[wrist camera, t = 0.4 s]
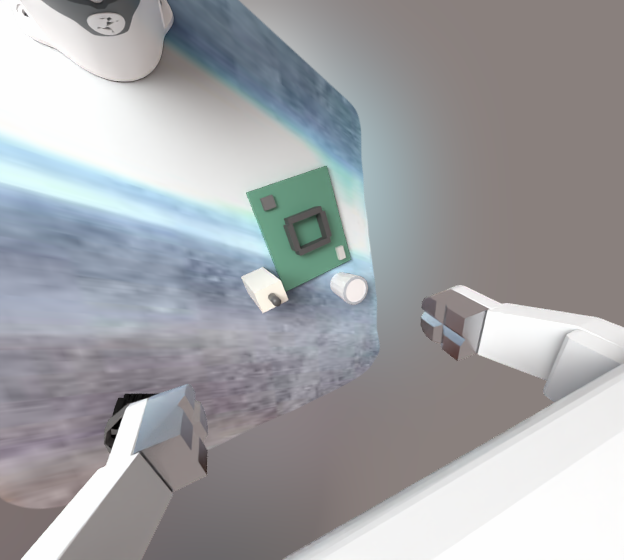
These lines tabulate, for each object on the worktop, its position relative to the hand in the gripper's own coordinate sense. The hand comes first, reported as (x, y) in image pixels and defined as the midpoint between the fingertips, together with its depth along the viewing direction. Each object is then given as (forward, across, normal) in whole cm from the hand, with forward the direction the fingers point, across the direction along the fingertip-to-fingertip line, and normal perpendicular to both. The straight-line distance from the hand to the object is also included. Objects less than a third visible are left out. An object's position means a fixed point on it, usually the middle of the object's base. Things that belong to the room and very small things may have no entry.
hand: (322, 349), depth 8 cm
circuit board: (+46, -13, +10) cm, 49 cm away
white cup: (+46, -20, +25) cm, 56 cm away
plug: (+44, 0, +17) cm, 47 cm away
